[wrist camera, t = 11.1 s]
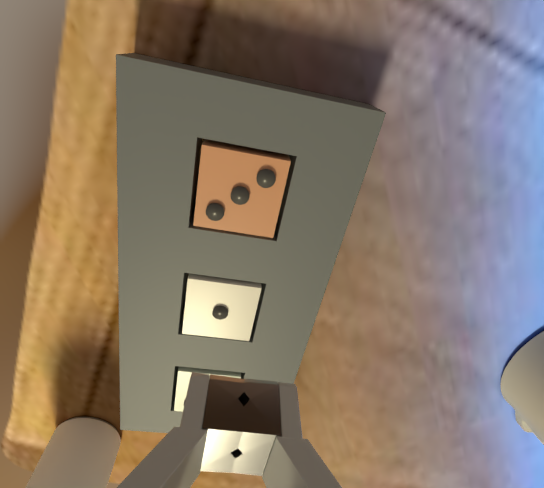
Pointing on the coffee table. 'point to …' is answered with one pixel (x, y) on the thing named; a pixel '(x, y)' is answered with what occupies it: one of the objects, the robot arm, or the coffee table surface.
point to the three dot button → (240, 188)
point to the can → (78, 455)
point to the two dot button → (184, 379)
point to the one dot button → (220, 307)
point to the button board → (219, 243)
